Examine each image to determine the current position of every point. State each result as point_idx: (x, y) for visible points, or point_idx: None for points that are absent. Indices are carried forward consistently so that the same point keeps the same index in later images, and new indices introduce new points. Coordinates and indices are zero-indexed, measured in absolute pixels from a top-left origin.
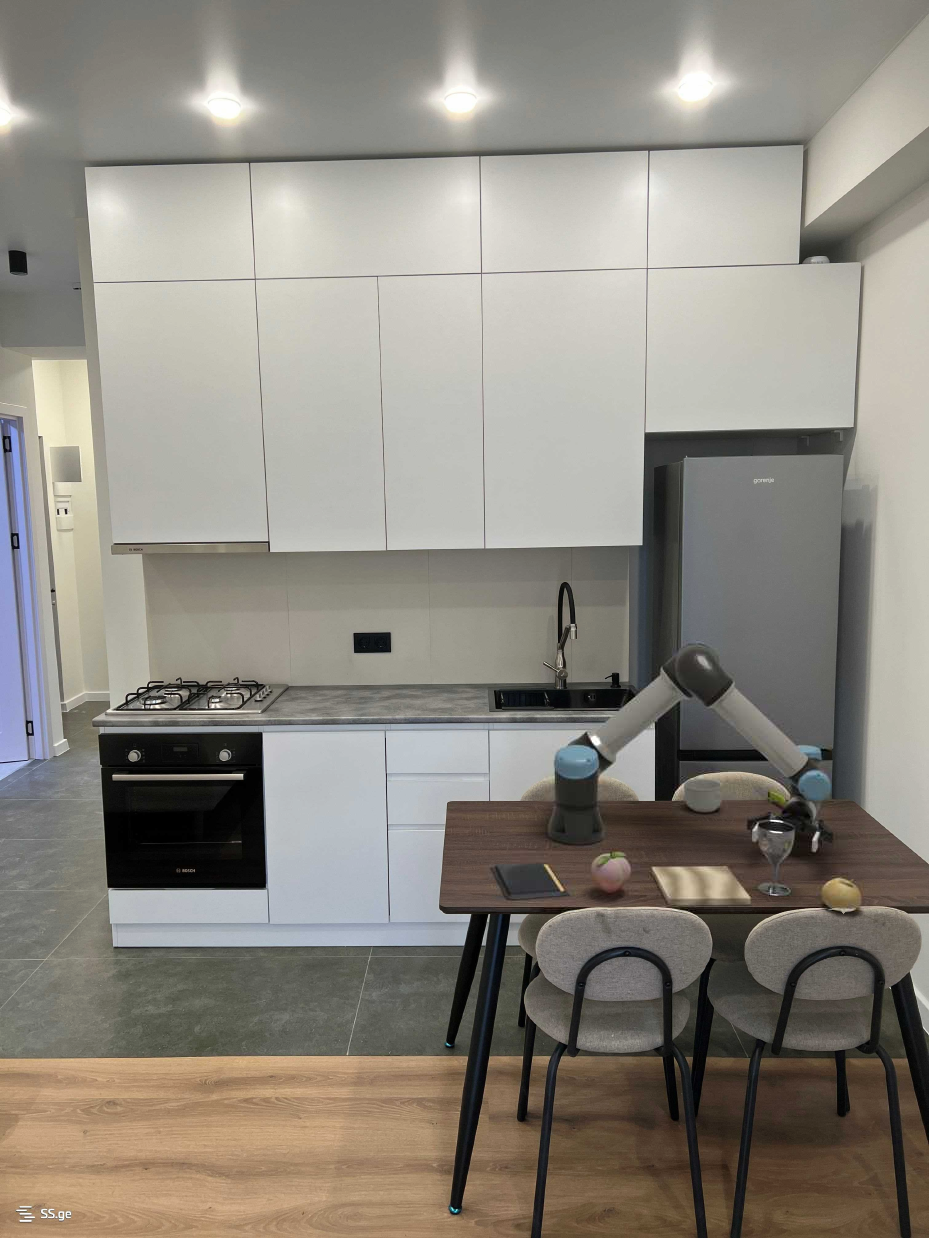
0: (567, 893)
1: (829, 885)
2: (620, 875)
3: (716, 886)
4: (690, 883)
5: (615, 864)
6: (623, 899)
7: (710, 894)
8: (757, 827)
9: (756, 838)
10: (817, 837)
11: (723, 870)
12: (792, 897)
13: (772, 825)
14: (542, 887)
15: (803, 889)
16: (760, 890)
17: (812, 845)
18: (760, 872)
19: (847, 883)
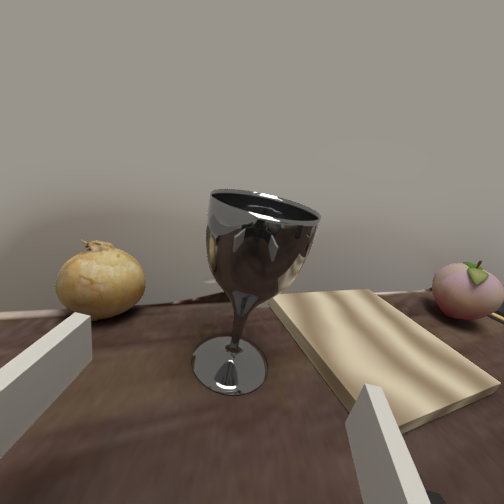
0: None
1: (133, 260)
2: (436, 275)
3: (336, 322)
4: (379, 327)
5: (451, 264)
6: (419, 305)
7: (330, 300)
8: (391, 451)
9: (355, 449)
10: (20, 356)
11: None
12: (193, 332)
13: (280, 238)
14: (501, 305)
15: (154, 372)
16: (259, 349)
17: (90, 336)
18: (279, 483)
19: (101, 241)
